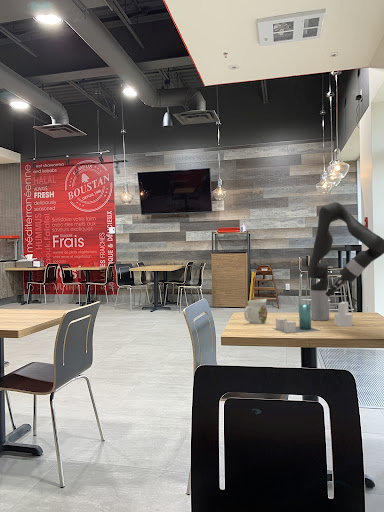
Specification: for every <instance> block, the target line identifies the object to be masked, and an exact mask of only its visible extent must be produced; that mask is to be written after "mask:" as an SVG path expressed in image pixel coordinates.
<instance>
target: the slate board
mask: <svg viewBox="0 0 384 512" xmlns="http://www.w3.org/2000/svg"><path fill="white" fill-rule="evenodd" d="M272 329H273V330H274V331H278V332H280V333H284V334H288V335H289V334H290V333H287V332H284V330H278V329H276V327H275V328H274V327H273V328H272ZM309 332H311V333H312V332H321V330H320V329H317V328H314V327H311V329H309V330H302V329H300V327H299V325H298V326H296V332H294V333H293V334H298V333H309Z"/></svg>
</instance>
